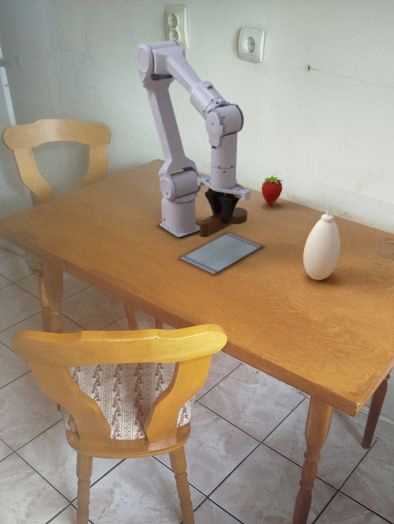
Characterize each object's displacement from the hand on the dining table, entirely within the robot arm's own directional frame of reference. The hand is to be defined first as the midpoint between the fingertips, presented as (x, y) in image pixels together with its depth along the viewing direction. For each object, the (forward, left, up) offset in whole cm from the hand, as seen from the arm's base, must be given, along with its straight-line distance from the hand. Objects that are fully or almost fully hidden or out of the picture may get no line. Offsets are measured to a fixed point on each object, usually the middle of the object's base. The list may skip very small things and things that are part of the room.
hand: (222, 221), depth 121 cm
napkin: (0, 0, -9) cm, 9 cm away
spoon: (0, 0, -1) cm, 1 cm away
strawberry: (-13, +29, -9) cm, 33 cm away
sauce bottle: (+23, +10, -9) cm, 27 cm away
